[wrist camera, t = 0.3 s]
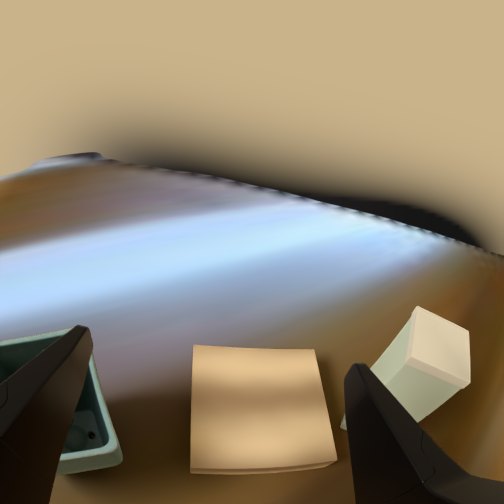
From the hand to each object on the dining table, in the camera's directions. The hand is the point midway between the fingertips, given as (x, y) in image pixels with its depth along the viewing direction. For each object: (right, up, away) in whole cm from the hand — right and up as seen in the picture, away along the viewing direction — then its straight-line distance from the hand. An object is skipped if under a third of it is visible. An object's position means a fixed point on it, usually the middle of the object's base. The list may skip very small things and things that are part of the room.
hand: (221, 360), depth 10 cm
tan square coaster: (+1, -11, +15) cm, 19 cm away
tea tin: (+12, -12, +16) cm, 23 cm away
